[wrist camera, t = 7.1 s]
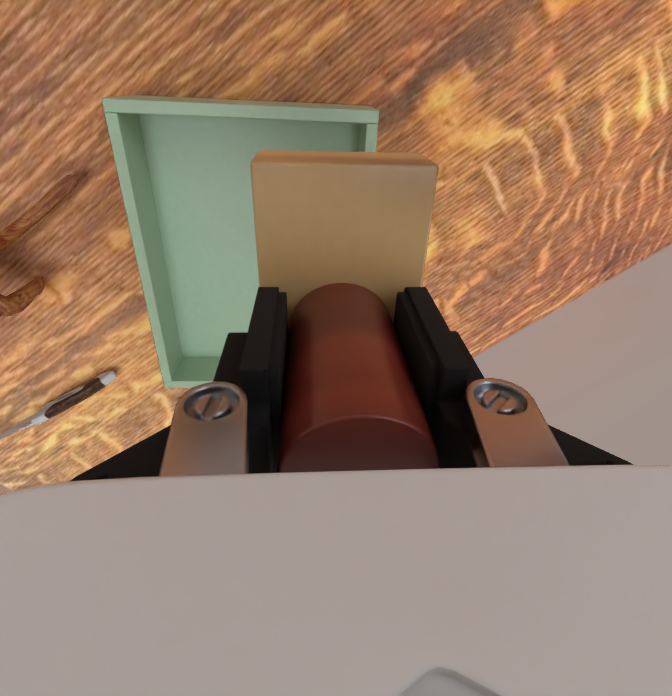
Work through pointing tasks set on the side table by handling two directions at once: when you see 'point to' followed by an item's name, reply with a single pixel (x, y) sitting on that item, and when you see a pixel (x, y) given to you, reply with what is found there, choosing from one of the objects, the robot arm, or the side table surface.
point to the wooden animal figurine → (29, 219)
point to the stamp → (345, 302)
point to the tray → (208, 207)
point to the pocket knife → (64, 402)
